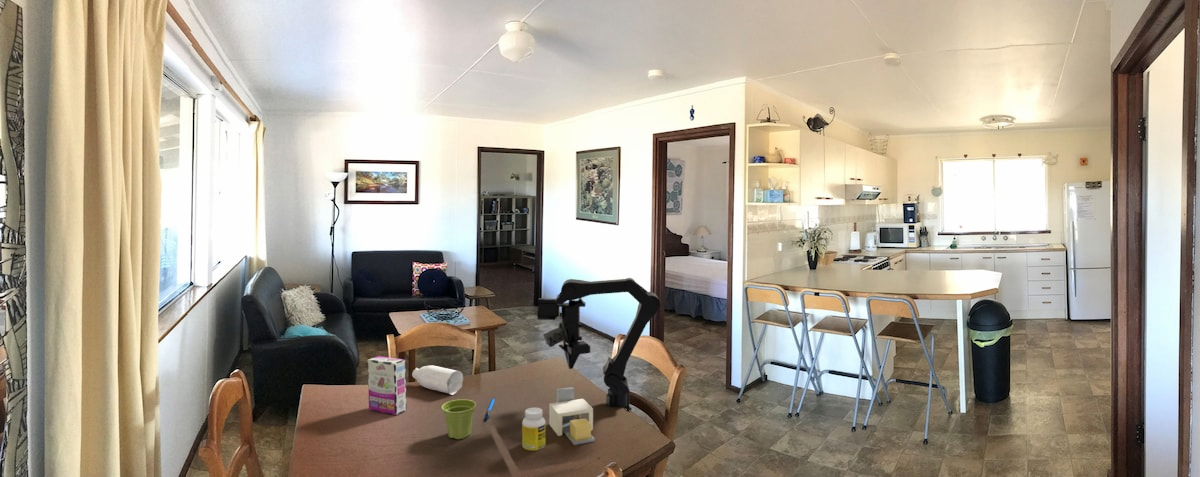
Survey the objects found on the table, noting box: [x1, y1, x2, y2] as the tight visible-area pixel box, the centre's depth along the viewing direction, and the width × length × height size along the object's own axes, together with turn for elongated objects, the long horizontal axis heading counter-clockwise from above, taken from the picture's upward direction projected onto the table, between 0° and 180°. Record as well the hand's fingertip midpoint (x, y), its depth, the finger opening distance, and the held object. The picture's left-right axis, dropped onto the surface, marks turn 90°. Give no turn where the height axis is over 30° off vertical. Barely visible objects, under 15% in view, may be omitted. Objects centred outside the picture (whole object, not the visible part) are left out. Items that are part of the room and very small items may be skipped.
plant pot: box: [441, 399, 477, 440], centre depth 161 cm, size 9×9×9 cm
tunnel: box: [548, 398, 594, 437], centre depth 167 cm, size 10×15×8 cm
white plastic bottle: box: [411, 364, 464, 396], centre depth 197 cm, size 8×19×8 cm, turn 60°
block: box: [570, 418, 592, 441], centre depth 156 cm, size 4×4×4 cm
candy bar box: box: [367, 355, 407, 416], centre depth 178 cm, size 11×5×16 cm, turn 68°
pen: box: [483, 397, 496, 423], centre depth 180 cm, size 1×19×1 cm, turn 2°
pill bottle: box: [521, 407, 546, 452], centre depth 152 cm, size 6×6×11 cm
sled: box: [555, 386, 596, 446], centre depth 161 cm, size 6×17×10 cm, turn 22°
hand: (570, 368), depth 180 cm, fingers closed
